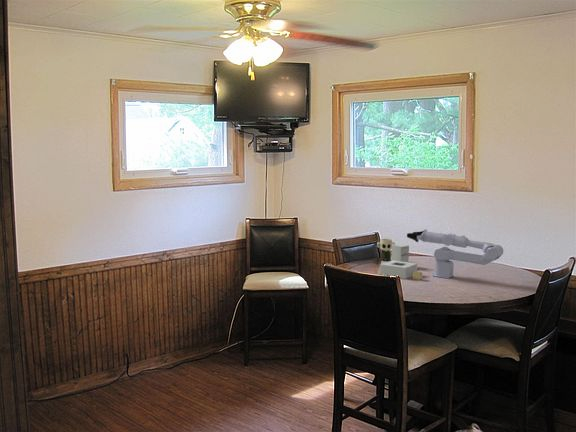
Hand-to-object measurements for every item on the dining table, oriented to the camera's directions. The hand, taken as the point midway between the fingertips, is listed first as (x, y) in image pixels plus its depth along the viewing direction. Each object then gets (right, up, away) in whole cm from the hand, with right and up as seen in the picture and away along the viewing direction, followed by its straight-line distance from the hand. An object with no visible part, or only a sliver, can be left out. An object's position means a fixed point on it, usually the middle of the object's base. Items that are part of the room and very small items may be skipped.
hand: (410, 234), depth 350 cm
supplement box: (-3, -19, +17) cm, 26 cm away
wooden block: (+1, -23, -17) cm, 29 cm away
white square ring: (-8, -22, -6) cm, 24 cm away
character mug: (-8, -17, +35) cm, 40 cm away
